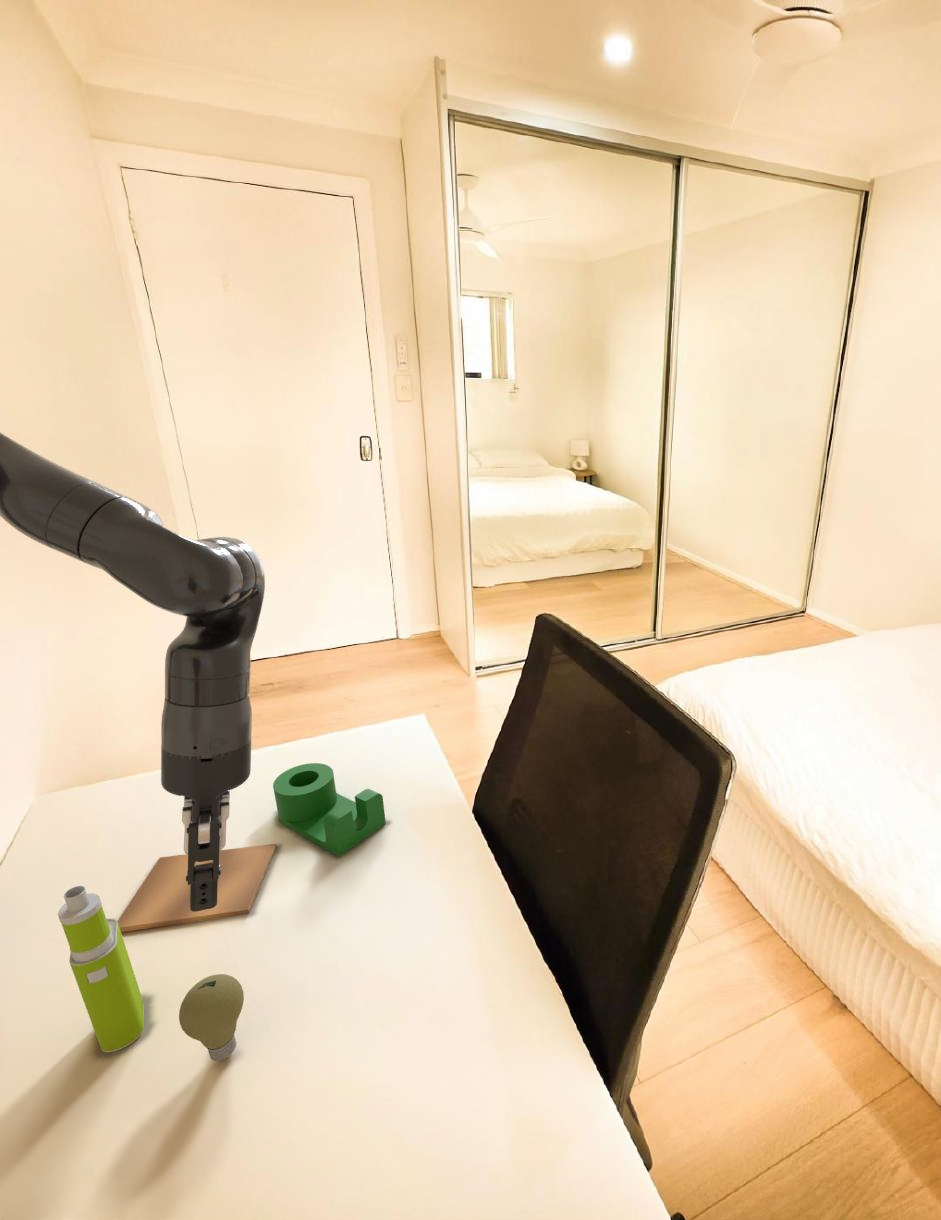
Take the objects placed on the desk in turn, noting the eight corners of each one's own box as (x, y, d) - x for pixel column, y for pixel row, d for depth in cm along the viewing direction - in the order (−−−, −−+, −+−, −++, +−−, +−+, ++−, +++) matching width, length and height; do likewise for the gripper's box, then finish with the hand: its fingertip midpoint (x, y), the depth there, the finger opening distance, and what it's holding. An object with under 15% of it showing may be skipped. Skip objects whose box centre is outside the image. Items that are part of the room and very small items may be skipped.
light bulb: (246, 1017, 68) (230, 951, 65) (261, 1054, 64) (245, 986, 61) (188, 1052, 64) (168, 984, 61) (200, 1093, 61) (180, 1023, 57)
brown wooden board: (113, 933, 78) (112, 928, 78) (160, 861, 90) (159, 857, 90) (249, 914, 81) (248, 909, 81) (277, 847, 93) (276, 843, 93)
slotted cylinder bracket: (267, 816, 100) (261, 783, 98) (315, 788, 107) (310, 757, 105) (338, 856, 92) (333, 822, 90) (385, 823, 99) (381, 790, 97)
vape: (100, 1059, 63) (46, 914, 57) (103, 1014, 68) (54, 874, 61) (144, 1039, 65) (97, 896, 59) (144, 996, 70) (100, 859, 63)
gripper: (168, 714, 64) (167, 852, 67) (152, 773, 52) (153, 937, 55) (250, 709, 68) (246, 839, 71) (253, 763, 56) (248, 916, 59)
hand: (205, 882), depth 63 cm, fingers open, 8 cm apart
